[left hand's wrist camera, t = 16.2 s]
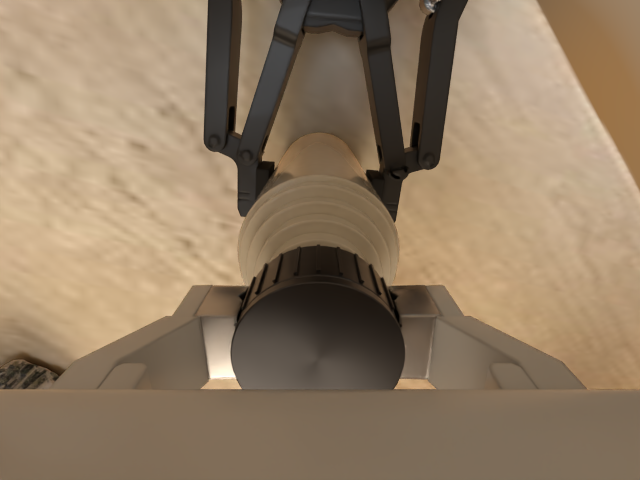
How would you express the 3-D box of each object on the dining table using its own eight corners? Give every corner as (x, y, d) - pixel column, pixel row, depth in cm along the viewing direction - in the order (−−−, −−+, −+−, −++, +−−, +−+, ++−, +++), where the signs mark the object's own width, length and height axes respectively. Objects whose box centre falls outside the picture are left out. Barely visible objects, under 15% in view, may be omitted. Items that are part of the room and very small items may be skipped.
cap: (332, 391, 11) (334, 451, 9) (217, 323, 10) (193, 375, 8) (422, 297, 10) (446, 344, 8) (300, 212, 9) (295, 243, 7)
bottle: (267, 181, 29) (146, 375, 9) (307, 116, 27) (274, 169, 7) (329, 221, 30) (348, 471, 10) (372, 160, 29) (500, 315, 8)
